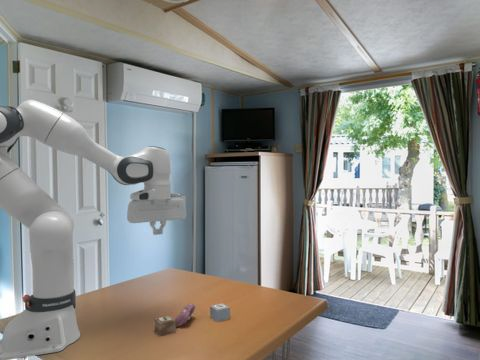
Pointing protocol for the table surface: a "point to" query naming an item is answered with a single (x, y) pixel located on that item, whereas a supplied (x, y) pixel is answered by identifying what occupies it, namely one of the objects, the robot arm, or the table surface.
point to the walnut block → (164, 325)
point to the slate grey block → (220, 312)
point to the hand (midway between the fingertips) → (158, 234)
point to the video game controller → (184, 315)
